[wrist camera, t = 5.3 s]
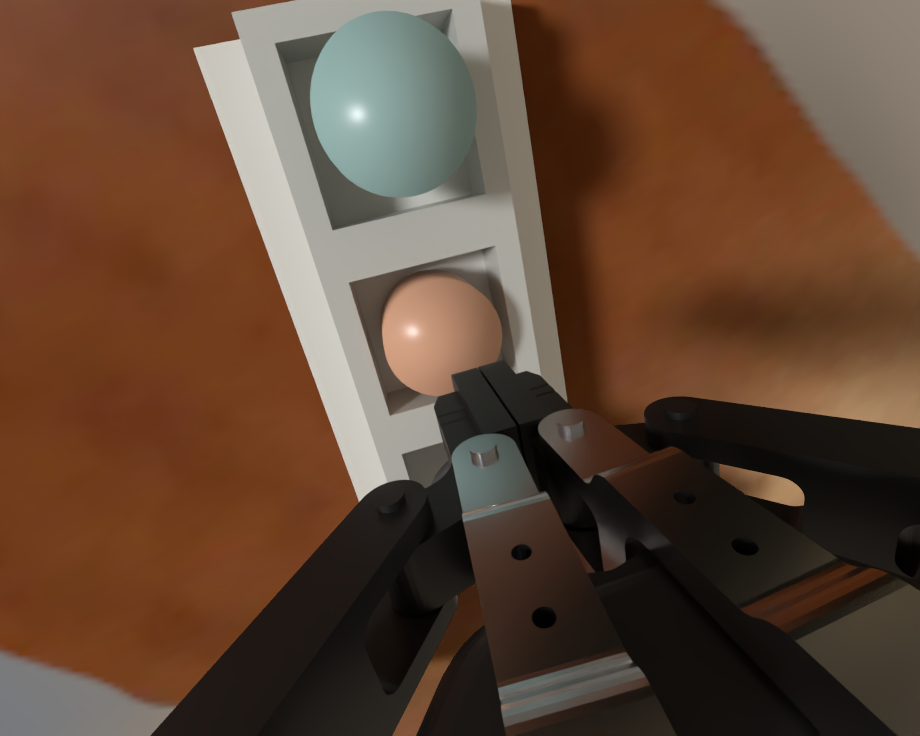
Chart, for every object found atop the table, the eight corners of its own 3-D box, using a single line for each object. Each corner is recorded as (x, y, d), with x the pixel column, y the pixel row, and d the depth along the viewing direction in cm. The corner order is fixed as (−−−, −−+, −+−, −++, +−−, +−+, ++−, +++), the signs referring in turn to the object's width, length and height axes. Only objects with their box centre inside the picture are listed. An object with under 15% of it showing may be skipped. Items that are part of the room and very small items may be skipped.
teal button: (298, 58, 15) (285, 28, 13) (440, 30, 16) (457, -5, 13) (343, 210, 17) (340, 213, 14) (469, 180, 18) (490, 178, 15)
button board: (205, 59, 18) (165, 24, 15) (498, 2, 20) (531, -44, 16) (376, 533, 27) (379, 587, 24) (569, 473, 29) (600, 515, 25)
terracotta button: (367, 284, 20) (368, 298, 18) (472, 257, 21) (490, 267, 18) (396, 383, 22) (401, 409, 20) (492, 356, 23) (511, 378, 20)
